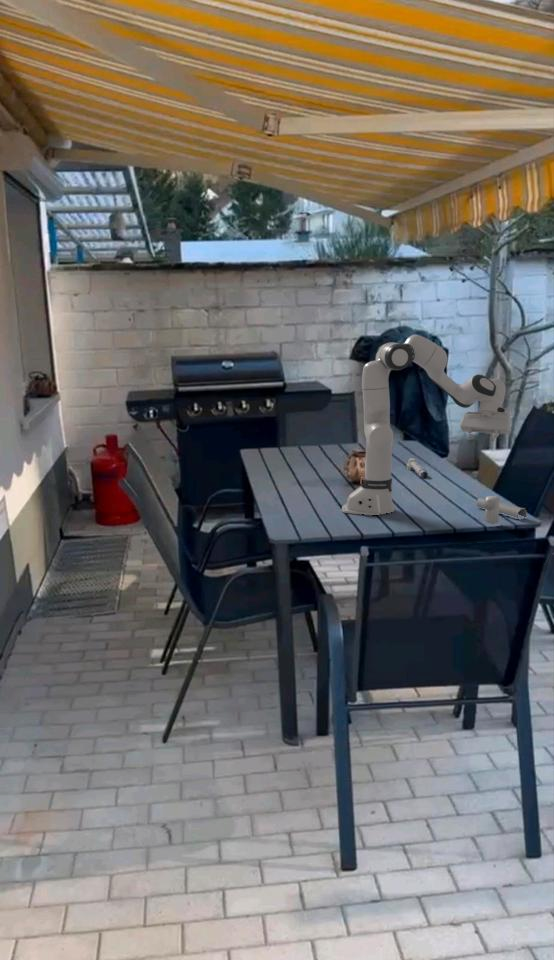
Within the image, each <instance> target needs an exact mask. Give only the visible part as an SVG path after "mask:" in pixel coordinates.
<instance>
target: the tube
mask: <svg viewBox="0 0 554 960" xmlns="http://www.w3.org/2000/svg"><path fill="white" fill-rule="evenodd" d="M485 501H486V497H481V498H477V501H476V504H475V505H476V506H478V507H481V508H484V502H485ZM478 507H477V508H478ZM499 512H500V513H504V514H507V515H511V516H514V517H517V518H518V514H519V515H521V516H524V517H526V518H527V516H528V515H527V510H526V508H525V507H519V506H516V505H511V504H509V503H505V502H500V501H499Z"/></svg>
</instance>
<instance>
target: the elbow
mask: <svg viewBox="0 0 554 960" xmlns="http://www.w3.org/2000/svg"><path fill="white" fill-rule="evenodd" d="M485 498H486V501H485V502H484V508H485V510H484V513H485V514H484V522H486V523H491V524H495V523H498V522H499V518H500V517H499V516H500V515H499V502H500V496H498V495H497V496H495V495H487V496H486V497H485Z"/></svg>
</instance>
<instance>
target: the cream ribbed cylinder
mask: <svg viewBox="0 0 554 960" xmlns="http://www.w3.org/2000/svg"><path fill="white" fill-rule="evenodd" d="M406 467H407V468H406V469H407V471H415V472H416V473H417V475H418V476H419V477H420V478H421V479H427V478H428V477H429V473H428V472H427V470H426V469H425V468H423V467H422V466H421V465H420V464H418V462H417V460H416V458H414V457H410V458H408V462H407V463H406Z"/></svg>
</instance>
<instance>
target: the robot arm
mask: <svg viewBox="0 0 554 960" xmlns="http://www.w3.org/2000/svg"><path fill="white" fill-rule="evenodd" d="M412 362H413V363H415V364H416V365H417V366H419V367H421V368H423V370H424V371H425V372H426V376H428V378H429V379H430V380H431V381H432V382H433V383H434V384H435V385H437V387H438V388H440V389H441V390H442V392H444V393H446V394H447V395H448V396H449V397H450V398H451V400H452V401H453V402H454V404H456V405H457V406H459V407H461V408H463V409H467V408H470V407H471V406H472V405H474V404H475V403H476V402H478V401H479V402H480V403H479V407H478V411H473V412H472V411H467V412H465V413H464V414H463V416H462V419H461V421H460V424H459V427H460V430H461V431H462V432H466V433H467V434H468V435H467V440H469V441H470V440H472V439H473V434H472V433H481V434H482V433H483V434H493V435H490V438H489V440H490V442H495V440H496V439H497V438H498V437H499V435H508V434H509V433H510V430H511V422H510V421H511V416H510V412H509V410H508V409H507V408H506V407H505V408H504V407H502V405H503V403H504V401H505V397H506V392H507V391H506V389H507V387H506V384H505V382H504V381H502V380H501V379H500V378H489V377H487V376H485V375H483V374H475V375H473V376H472V377H470V378H469V379H468V380H466V381H464V382H463V383H457V382H456V381H454V380H453V379H452V378H451V377H450V376H449V375H448V374H446V372H445V368H446V366H447V363H448V353H447V352H446V351H445V350H444V348H442V347H441V346H440V345H438V344H437V343H436V342H434V341H432V340H430V339H428V338H426V337H425V336H422V335H419V334H411V335H410V336H408V337H407V338H406V340H405V341H404V342H403V343H399V342H396V341H394V342H391V341H390V342H387V341H386V342H385V343H383V344H381V345H380V346H379V347H378V349H377V350H376V353H375V355H374V357H373V359H372V360H371V361H369V362H367V363H365V364H364V365H363V368H362V374H361V375H362V377H361V388H362V401H363V402H362V404H363V428H364V429H363V431H364V436H365V438H366V440H365V441H366V443H365V458H364V463H365V464H364V476H361V477H360V482H359V484H360V485H359V487H358V488H356V489H355V490H353V491H352V492H351V493H350V494H349V495H348V497H347V500H346V503H344V505H342V507H341V512H343V514H355V515H362V514H364V516H372V515H378V516H381V515H386V513H388V514H392V513H394V512H395V508H394V504H393V496H392V491H393V478H392V456H393V446H394V432H393V429H392V428H391V416H390V415H391V412H390V411H391V410H390V409H391V402H390V401H391V400H390V399H391V398H390V397H391V396H390V386H389V385H390V384H389V378H390V373H391V371H401V370H403V369H405V368H407V367H408V365H410V364H411V363H412ZM391 512H392V513H391ZM380 514H381V515H380Z"/></svg>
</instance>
